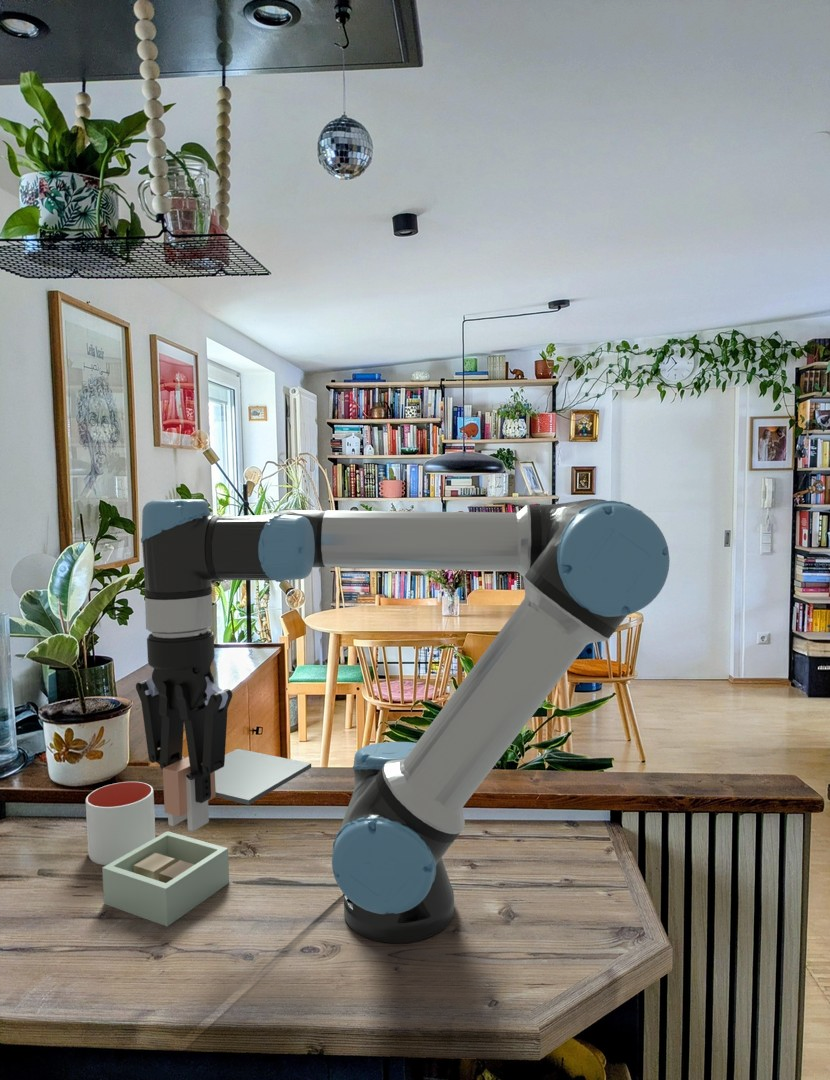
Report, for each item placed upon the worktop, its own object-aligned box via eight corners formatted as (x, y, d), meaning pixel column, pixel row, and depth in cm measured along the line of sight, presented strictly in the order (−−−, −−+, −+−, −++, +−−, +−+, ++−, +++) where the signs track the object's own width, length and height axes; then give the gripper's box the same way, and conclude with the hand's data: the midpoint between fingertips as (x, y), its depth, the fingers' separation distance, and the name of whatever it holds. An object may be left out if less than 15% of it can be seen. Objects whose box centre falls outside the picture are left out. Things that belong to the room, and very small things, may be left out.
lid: (311, 773, 102) (310, 728, 102) (214, 832, 86) (212, 779, 85) (238, 758, 108) (236, 715, 108) (133, 810, 92) (131, 761, 91)
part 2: (202, 893, 108) (200, 866, 107) (181, 907, 104) (180, 880, 104) (181, 886, 109) (179, 860, 109) (160, 900, 106) (158, 873, 106)
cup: (133, 873, 115) (130, 810, 114) (74, 867, 117) (71, 805, 116) (167, 842, 125) (165, 783, 124) (113, 837, 127) (110, 779, 126)
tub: (229, 887, 111) (228, 848, 110) (167, 932, 100) (165, 888, 99) (169, 868, 116) (167, 831, 116) (104, 908, 106) (102, 867, 105)
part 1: (175, 885, 110) (174, 858, 110) (154, 898, 106) (153, 871, 106) (155, 878, 112) (154, 852, 111) (134, 891, 108) (133, 865, 108)
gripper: (253, 630, 89) (259, 823, 91) (157, 620, 96) (165, 799, 98) (207, 643, 82) (216, 851, 84) (108, 631, 89) (118, 823, 91)
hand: (188, 823), depth 91 cm, fingers closed on lid, 2 cm apart
